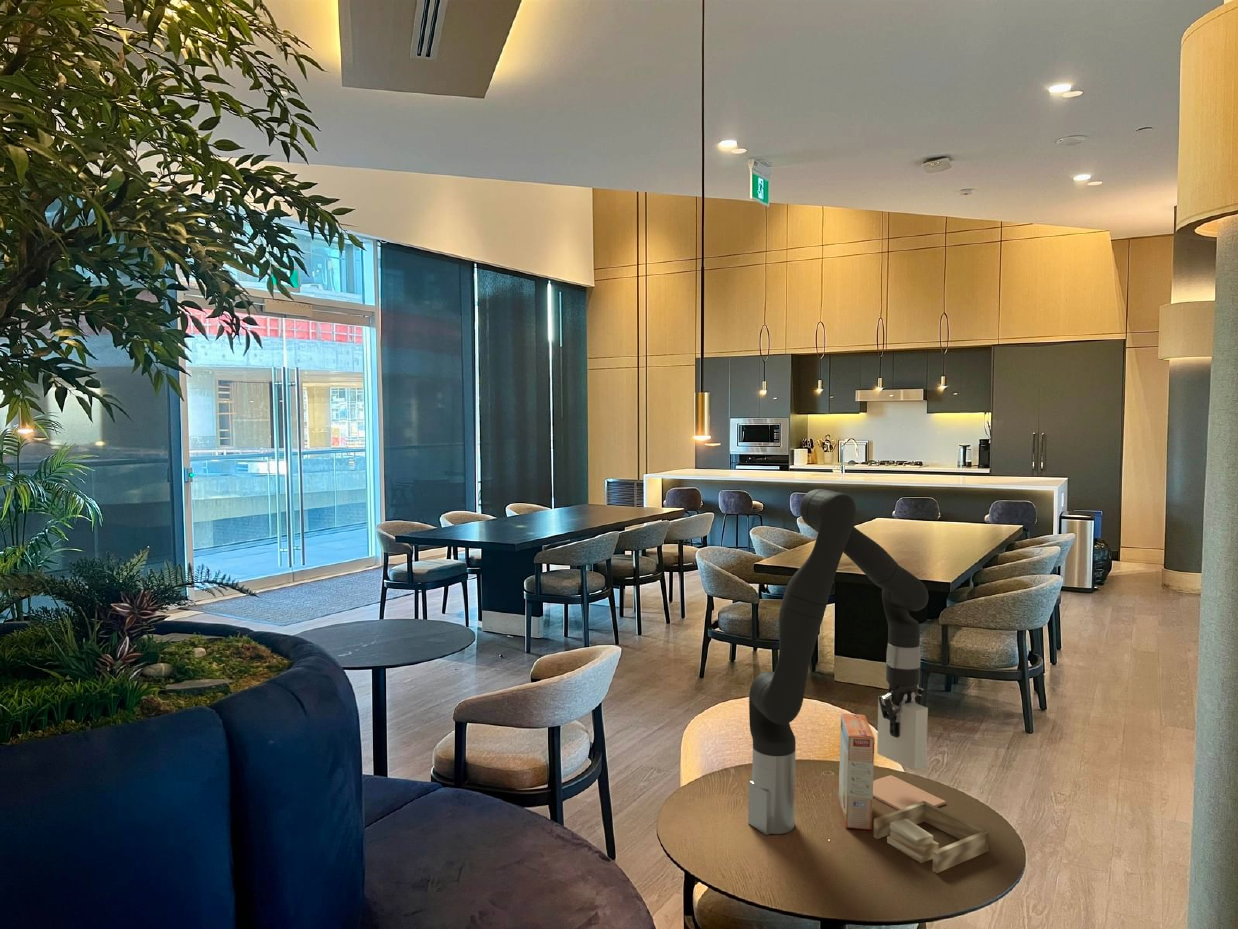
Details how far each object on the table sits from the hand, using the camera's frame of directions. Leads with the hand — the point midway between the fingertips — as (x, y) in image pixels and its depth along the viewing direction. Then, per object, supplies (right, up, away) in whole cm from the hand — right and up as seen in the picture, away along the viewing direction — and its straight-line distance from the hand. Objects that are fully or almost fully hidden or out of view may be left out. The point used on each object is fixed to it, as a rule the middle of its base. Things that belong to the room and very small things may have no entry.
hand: (901, 734), depth 192 cm
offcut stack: (-6, -17, -23) cm, 29 cm away
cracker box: (-13, -16, -8) cm, 22 cm away
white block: (0, -6, 0) cm, 6 cm away
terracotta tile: (0, -15, +1) cm, 15 cm away
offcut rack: (-1, -16, -21) cm, 26 cm away
